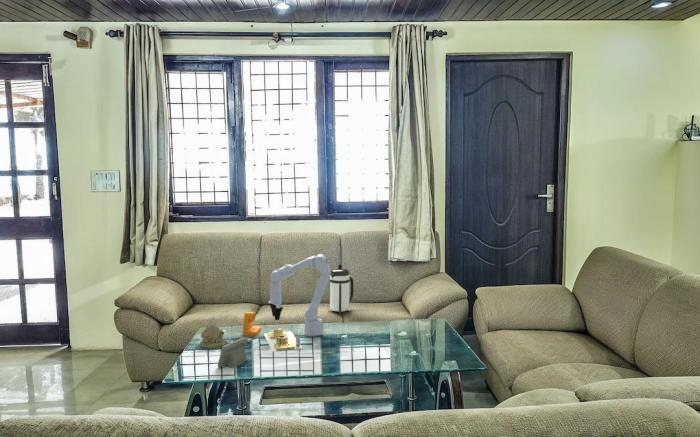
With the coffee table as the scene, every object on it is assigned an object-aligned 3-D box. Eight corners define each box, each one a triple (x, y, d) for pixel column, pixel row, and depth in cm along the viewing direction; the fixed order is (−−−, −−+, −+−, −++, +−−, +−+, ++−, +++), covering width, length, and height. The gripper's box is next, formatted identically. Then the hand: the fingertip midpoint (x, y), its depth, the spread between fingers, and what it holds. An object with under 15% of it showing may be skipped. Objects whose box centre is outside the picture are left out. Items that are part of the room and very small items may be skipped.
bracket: (256, 337, 274) (255, 315, 273) (242, 336, 275) (242, 314, 274) (261, 331, 285) (261, 309, 284) (248, 330, 286) (248, 309, 284)
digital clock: (241, 356, 247) (241, 334, 246) (253, 361, 241) (253, 338, 240) (212, 366, 234) (212, 343, 233) (224, 371, 228) (224, 348, 227)
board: (291, 332, 282) (291, 331, 282) (302, 349, 256) (302, 348, 256) (263, 335, 278) (263, 333, 278) (272, 352, 251) (272, 351, 251)
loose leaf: (284, 332, 280) (284, 325, 279) (287, 336, 273) (287, 329, 272) (267, 333, 277) (267, 326, 277) (270, 338, 270) (270, 330, 269)
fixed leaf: (289, 340, 267) (289, 334, 266) (294, 348, 255) (294, 341, 255) (272, 342, 264) (272, 335, 264) (276, 350, 252) (276, 343, 252)
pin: (299, 344, 261) (299, 333, 260) (300, 346, 258) (300, 334, 258) (294, 345, 260) (294, 333, 259) (295, 346, 258) (295, 335, 257)
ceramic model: (195, 346, 260) (194, 326, 259) (208, 339, 271) (208, 320, 270) (219, 349, 256) (219, 329, 255) (231, 342, 266) (231, 323, 265)
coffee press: (353, 315, 317) (353, 266, 314) (327, 314, 317) (327, 266, 314) (353, 307, 334) (353, 261, 331) (328, 307, 334) (328, 261, 331)
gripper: (266, 290, 282) (266, 314, 283) (270, 296, 268) (270, 322, 269) (278, 289, 284) (279, 313, 285) (284, 295, 270) (284, 321, 272)
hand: (275, 317), depth 277 cm, fingers open, 7 cm apart
